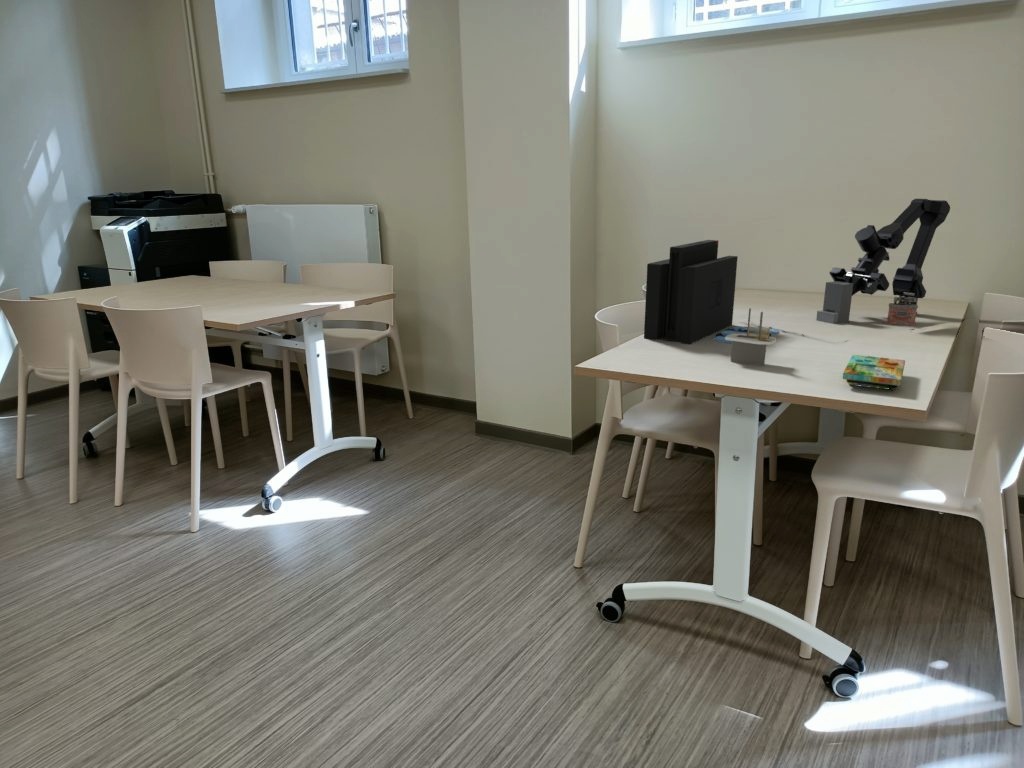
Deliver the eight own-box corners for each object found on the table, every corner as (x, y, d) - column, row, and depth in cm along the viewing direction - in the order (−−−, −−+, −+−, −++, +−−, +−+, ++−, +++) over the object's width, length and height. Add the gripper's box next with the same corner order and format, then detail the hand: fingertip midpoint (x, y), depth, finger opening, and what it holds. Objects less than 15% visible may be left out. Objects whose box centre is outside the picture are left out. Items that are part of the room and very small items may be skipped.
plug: (832, 318, 245) (836, 281, 242) (848, 321, 240) (853, 283, 236) (821, 319, 242) (825, 282, 239) (838, 322, 237) (842, 284, 234)
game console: (690, 320, 250) (695, 238, 243) (782, 330, 233) (791, 243, 226) (643, 338, 222) (648, 246, 215) (744, 352, 206) (753, 253, 198)
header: (833, 318, 245) (834, 308, 244) (850, 321, 240) (851, 311, 239) (816, 320, 241) (817, 311, 241) (833, 324, 236) (834, 314, 235)
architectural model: (712, 350, 209) (716, 299, 205) (807, 361, 197) (813, 308, 193) (688, 366, 192) (691, 312, 188) (790, 380, 179) (796, 322, 175)
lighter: (885, 327, 237) (889, 296, 234) (886, 326, 239) (890, 294, 237) (914, 330, 233) (919, 298, 230) (914, 328, 236) (919, 296, 233)
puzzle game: (905, 357, 181) (901, 376, 164) (902, 375, 183) (898, 396, 166) (852, 351, 187) (843, 369, 170) (850, 369, 188) (841, 389, 171)
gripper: (906, 281, 240) (879, 319, 237) (854, 275, 255) (829, 310, 253) (894, 258, 234) (866, 296, 231) (842, 252, 249) (816, 288, 247)
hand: (844, 298), depth 241 cm, fingers closed
